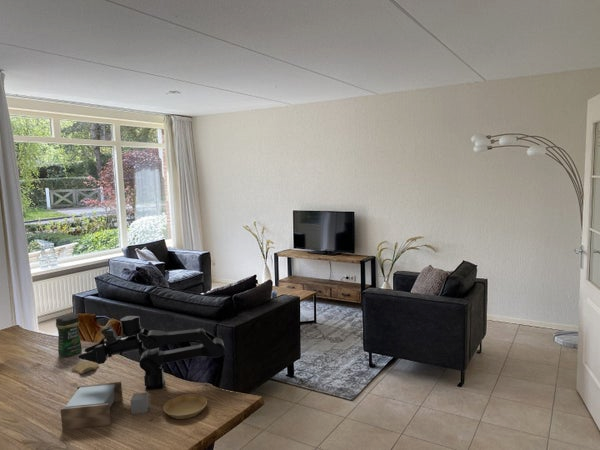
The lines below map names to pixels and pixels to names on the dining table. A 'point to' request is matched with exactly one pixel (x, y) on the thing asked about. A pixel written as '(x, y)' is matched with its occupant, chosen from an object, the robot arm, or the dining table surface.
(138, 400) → the grey cube
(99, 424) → the frame
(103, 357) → the robot arm
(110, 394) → the trapdoor
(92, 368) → the pottery shard
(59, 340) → the coffee jar
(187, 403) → the plant saucer
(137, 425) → the dining table surface
